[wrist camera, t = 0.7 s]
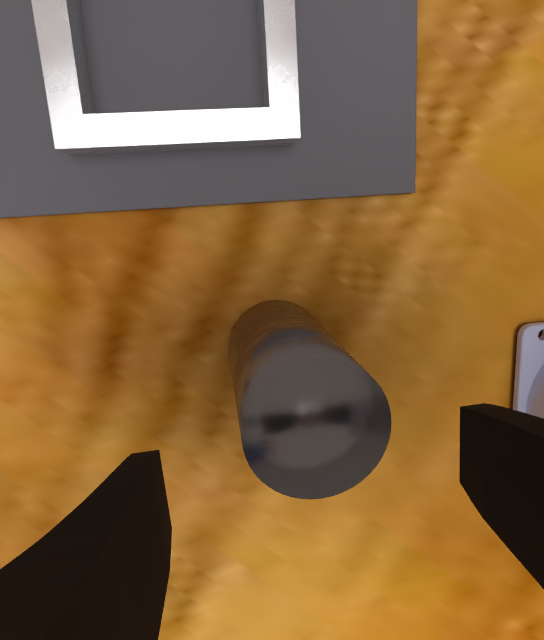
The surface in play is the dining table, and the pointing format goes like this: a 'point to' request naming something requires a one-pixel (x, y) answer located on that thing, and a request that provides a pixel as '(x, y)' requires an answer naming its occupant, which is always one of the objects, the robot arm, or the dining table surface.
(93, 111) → the steel socket
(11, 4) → the dock mat
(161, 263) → the dining table surface
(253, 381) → the grey upright cylinder
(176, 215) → the dining table surface
